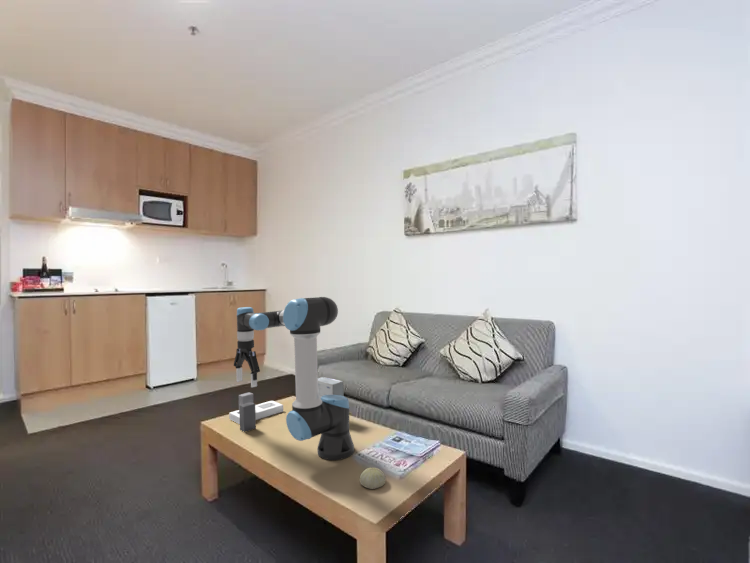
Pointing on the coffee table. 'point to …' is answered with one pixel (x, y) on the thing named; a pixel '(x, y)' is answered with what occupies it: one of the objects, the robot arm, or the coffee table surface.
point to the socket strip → (256, 408)
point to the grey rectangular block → (247, 416)
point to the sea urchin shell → (372, 478)
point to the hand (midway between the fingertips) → (246, 384)
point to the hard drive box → (329, 387)
